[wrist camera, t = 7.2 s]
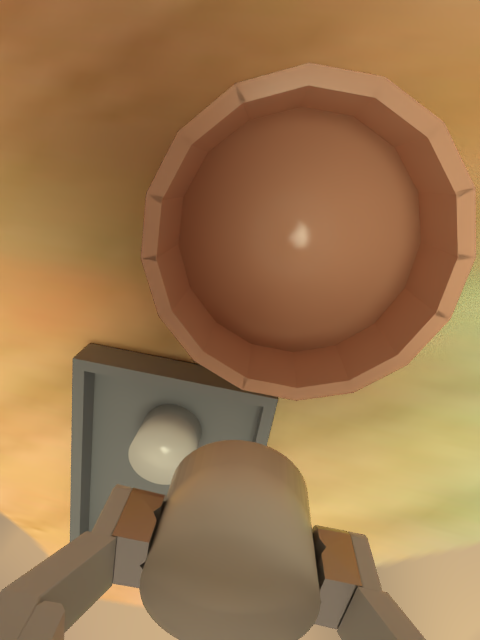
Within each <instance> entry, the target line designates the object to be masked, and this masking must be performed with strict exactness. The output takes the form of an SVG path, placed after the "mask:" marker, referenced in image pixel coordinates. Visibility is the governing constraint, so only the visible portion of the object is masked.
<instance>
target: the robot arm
mask: <svg viewBox="0 0 480 640" xmlns="http://www.w3.org/2000/svg"><path fill="white" fill-rule="evenodd" d="M165 498H166V495H163V494H159V493H155V492H150V491H146V490H142V489H137V488H132V487H128V486H123V485H119V484H117V485H116V486H115V487H114V488H113V490H112V492H111V494H110V496H109V498H108V500H107V502H106V504H105V506H104V508H103V510H102V512H101V514H100V516H99V518H98V520H97V522H96V524H95V526H94V528H93V530H92V532H89V531H86V532H84V533H83V534H81V535H80V536H79V537H77V538H76V539H74V540H73V541H71V542H70V543H69V544H67V545H66V546H64V547H63V548H61V549H60V550H58V551H57V552H56V553H54V554H53V555H51V556H50V557H48V558H47V559H46V560H44V561H43V562H41V563H40V564H38V565H37V566H35V567H34V568H33V569H31V570H30V571H28V572H27V573H25V574H24V575H23V576H21V577H20V578H18V579H17V580H15V581H14V582H12V583H11V584H10V585H8V586H7V587H5V588H4V589H2V591H1V592H0V640H64V633H65V632H66V631H67V630H68V629H69V628H70V627H71V626H72V625H73V624H74V623H75V622H76V621H77V620H78V619H79V618H80V617H81V616H82V615H83V614H84V613H85V612H86V611H87V610H88V609H89V608H90V607H91V606H92V605H93V604H94V603H95V602H96V601H97V600H98V599H99V598H100V597H101V596H102V595H103V594H104V593H105V592H106V591H107V590H108V589H109V588H110V587H111V586H112V584H118V585H124V586H130V587H136V588H140V578H141V574H142V571H143V567H144V564H145V561H146V559H147V556H148V553H149V550H150V547H151V544H152V541H153V538H154V535H155V530H156V527H157V524H158V522H159V519H160V516H161V513H162V509H163V506H164V503H165ZM312 533H313V541H314V549H315V557H316V565H317V574H318V582H319V590H320V599H321V604H320V611H319V614H318V617H317V619H316V621H315V623H314V624H317V625H321V626H326V627H329V628H334V629H338V630H337V632H338V634H339V636H340V638H341V639H342V640H426V639H425V638H424V637H423V636H422V634H421V633H420V632H419V631H418V630H417V628H416V627H415V626H414V624H413V623H412V622H411V621H410V620H409V618H408V617H407V616H406V615H405V613H404V612H403V611H402V610H401V609H400V607H399V606H398V605H397V603H396V602H395V601H394V600H393V599H392V597H391V596H390V595H389V594H388V593H387V592H383V591H382V588H381V584H380V581H379V577H378V574H377V570H376V567H375V563H374V560H373V556H372V552H371V549H370V545H369V542H368V538H367V537H366V536H365V535H363V534H358V533H353V532H347V531H344V530H338V529H333V528H328V527H323V526H317V525H315V526H314V527H313V529H312Z"/></svg>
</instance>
